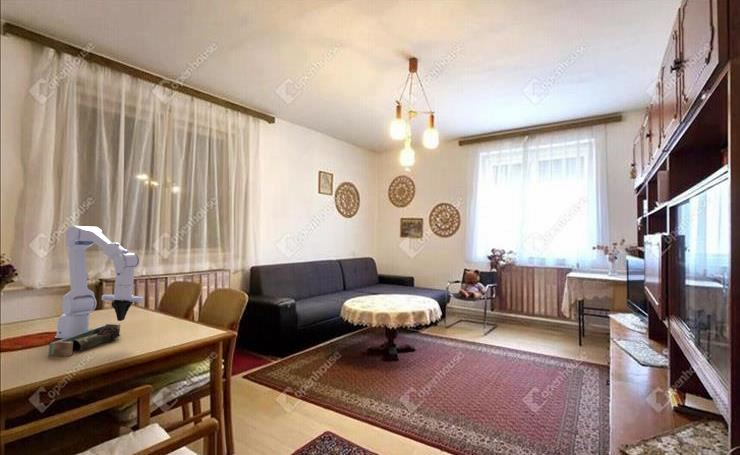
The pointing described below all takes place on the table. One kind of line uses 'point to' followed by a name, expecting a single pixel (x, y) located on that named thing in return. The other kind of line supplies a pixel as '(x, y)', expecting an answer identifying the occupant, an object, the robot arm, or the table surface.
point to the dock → (66, 346)
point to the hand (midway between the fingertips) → (120, 320)
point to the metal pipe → (95, 338)
